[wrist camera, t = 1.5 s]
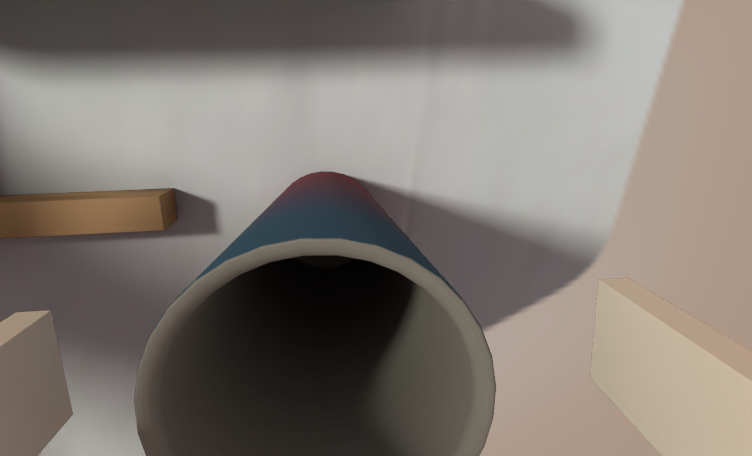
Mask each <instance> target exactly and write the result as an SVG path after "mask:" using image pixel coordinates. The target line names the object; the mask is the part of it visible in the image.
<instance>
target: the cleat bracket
mask: <svg viewBox="0 0 752 456" xmlns="http://www.w3.org/2000/svg"><path fill="white" fill-rule="evenodd" d="M177 220H178V217H177V209H176V202H175V195H174V188H169V189H146V190H122V191H99V192H75V193H52V194H28V195H5V196H0V238H16V237H37V236H57V235H77V234H97V233H117V232H137V231H158V230H165V229H166V228H167V227H169V226H170V225H171V224H173V223H174V222H175V221H177Z"/></svg>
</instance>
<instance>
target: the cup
mask: <svg viewBox="0 0 752 456" xmlns="http://www.w3.org/2000/svg"><path fill="white" fill-rule="evenodd" d="M495 392H496V384H495V376H494V369H493V360H492V355H491V353H490V350H489V347H488V344H487V342H486V339H485V336H484V333H483V331H482V328H481V326H480V325H479V323H478V322H477V320H476V318H475V317H474V315H473V314H472V312H471V311H470V309H469V308H468V306H467V304H466V303H465V301H464V300H463V299H462V298H461V297H460V296H459V294H458V293H457V292H456V291H455V290H454V289H453V288H452V287H451V285H450V284H449V283H448V282H447V281H446V280H445V279H444V278H443V276H442V275H441V274H440V273H439V272H438V271H437V270H436V268H435V267H434V266H433V265H432V264H431V263H430V262H429V261H428V259H427V258H426V257H425V256H424V255H423V254H422V253H421V252H420V250H419V249H418V248H417V247H416V246H415V245H414V244H413V243H412V241H411V240H410V239H409V238H408V237H407V236H406V235H405V234H404V232H403V231H402V230H401V229H400V228H399V227H398V226H397V225H396V223H395V222H394V221H393V220H392V219H391V218H390V217H389V216H388V214H387V213H386V212H385V211H384V210H383V209H382V208H381V207H380V205H379V204H378V203H377V202H376V201H375V200H374V199H373V198H372V196H371V195H370V194H369V193H368V192H367V191H366V190H365V189H364V188H363V187H362V186H361V185H360V184H359V183H358V182H356V181H355V180H353V179H352V178H350V177H348V176H345V175H343V174H340V173H335V172H317V173H311V174H308V175H306V176H304V177H301V178H300V179H298V180H297V181H295V182H293V183H292V184H291V185H290V186H289V187H288V188H287V189H286V190H285V191H284V192H283V193H282V194H281V195H280V196H279V197H278V198H277V199H276V200H275V201H274V202H273V203H272V204H271V205H270V206H269V207H268V208H267V209H266V210H265V211H264V212H263V213H262V214H261V215H260V216H259V217H258V218H257V219H256V220H255V221H254V222H253V223H252V224H251V225H250V226H249V227H248V228H247V229H246V230H245V231H244V232H243V233H242V234H241V235H240V236H239V237H238V238H237V239H236V240H235V241H234V242H233V243H232V244H231V245H230V246H229V247H228V248H227V249H226V250H225V251H224V252H223V253H222V254H221V255H220V256H219V257H218V258H217V259H216V260H215V261H214V262H213V263H212V264H211V265H210V266H209V267H208V268H207V269H206V270H205V271H204V272H203V273H202V274H201V275H200V276H198V277H197V278H196V279H195V280H194V281H193V282H192V283H191V284H190V285H189V286H188V287H187V288H186V289H185V290H184V291H183V292H182V293H181V294H180V295H179V296H178V297H177V299H176V300H175V301H174V302H173V303H172V304H171V305H170V306H169V307H168V308H167V310H166V311H165V313H164V314H163V316H162V317H161V319H160V320H159V322H158V324H157V325H156V327H155V328H154V330H153V331H152V333H151V334H150V336H149V339H148V341H147V344H146V347H145V350H144V352H143V355H142V358H141V361H140V364H139V366H138V371H137V380H136V389H135V398H134V405H135V413H136V421H137V429H138V435H139V437H140V440H141V443H142V446H143V448H144V451H145V454H146V456H479V455H480V453H481V451H482V449H483V448H484V446H485V442H486V439H487V436H488V432H489V429H490V426H491V423H492V420H493V414H494V403H495Z"/></svg>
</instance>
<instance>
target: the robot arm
mask: <svg viewBox="0 0 752 456" xmlns="http://www.w3.org/2000/svg"><path fill="white" fill-rule="evenodd" d="M590 379H591V380H592V381H593V382H594V383H595V384H596V385H597V386H598V387H599V388H600V389H601V390H602V391H603V393H604V394H605V395H606V396H607V397H608V398H609V399H610V400H611V401H612V402H613V403H614V404H615V406H616V407H617V408H618V409H619V410H620V411H621V412H622V413H623V414H624V415H625V416H626V417H627V419H628V420H629V421H630V422H631V423H632V424H633V425H634V426H635V427H636V428H637V429H638V430H639V432H640V433H641V434H642V435H643V436H644V437H645V438H646V439H647V440H648V441H649V442H650V443H651V444H652V446H653V447H655V449H656V450H657V451H658V452H659V453H660V454H661V455H662V456H752V351H751V350H749V349H747V348H746V347H744V346H742V345H741V344H739V343H737V342H736V341H734V340H732V339H730V338H729V337H727V336H725V335H724V334H722V333H720V332H719V331H717V330H715V329H713V328H712V327H710V326H709V325H707V324H705V323H704V322H701V321H700V320H698V319H697V318H695V317H693V316H692V315H690V314H688V313H687V312H685V311H683V310H682V309H680V308H678V307H677V306H675V305H673V304H672V303H670V302H668V301H666V300H665V299H663V298H661V297H660V296H658V295H656V294H655V293H653V292H651V291H649V290H648V289H646V288H645V287H643V286H641V285H639V284H638V283H636V282H634V281H632V280H631V279H629V278H617V279H601V280H600V279H599V284H598V295H597V305H596V317H595V327H594V337H593V348H592V360H591V370H590ZM72 415H73V412H72V407H71V403H70V398H69V393H68V389H67V384H66V379H65V375H64V370H63V365H62V361H61V356H60V351H59V347H58V342H57V337H56V333H55V328H54V323H53V319H52V314H51V310H48V311H30V312H16V313H14V314H13V315H11V316H10V317H8V318H6V319H5V320H3V321H2V322H0V456H38V455H39V453H40V452H41V451H42V450H43V449H44V448H45V446H46V445H47V444H48V443H49V442H50V441H51V439H52V438H53V437H54V436H55V435H56V434H57V432H58V431H59V430H60V429H61V428H62V427H63V425H64V424H65V423H66V422H67V421H68V420H69V418H70V417H71V416H72Z"/></svg>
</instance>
